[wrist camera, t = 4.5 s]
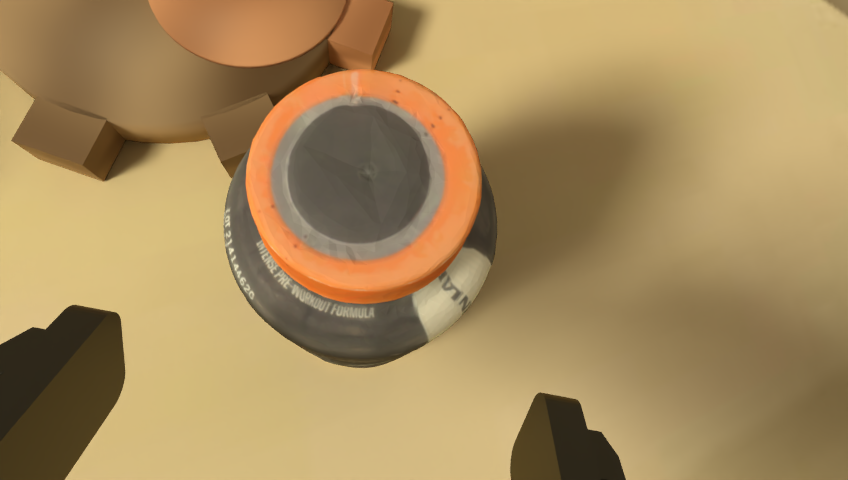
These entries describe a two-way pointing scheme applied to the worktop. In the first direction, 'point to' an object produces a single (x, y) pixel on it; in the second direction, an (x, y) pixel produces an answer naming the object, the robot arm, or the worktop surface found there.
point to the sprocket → (171, 69)
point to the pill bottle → (360, 218)
